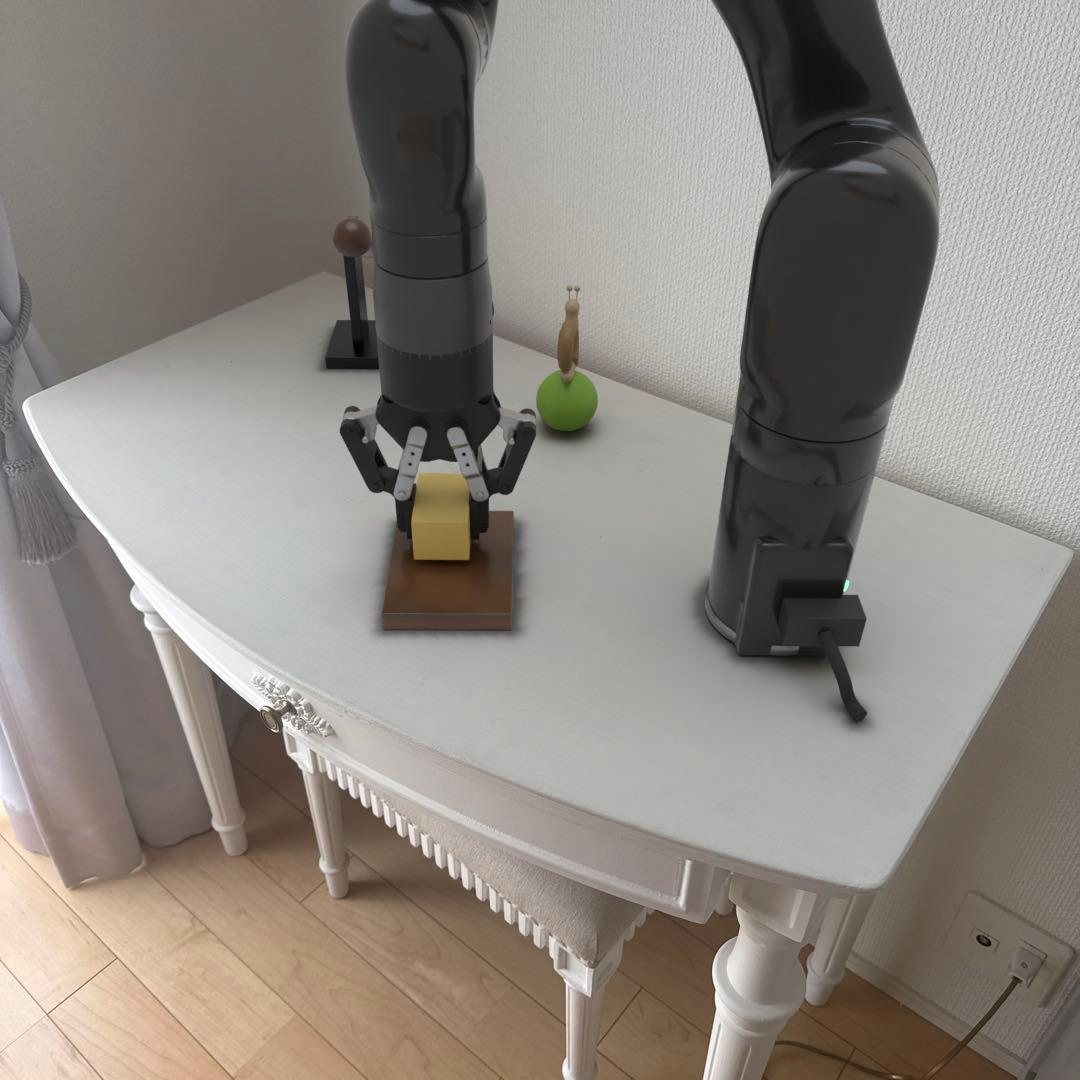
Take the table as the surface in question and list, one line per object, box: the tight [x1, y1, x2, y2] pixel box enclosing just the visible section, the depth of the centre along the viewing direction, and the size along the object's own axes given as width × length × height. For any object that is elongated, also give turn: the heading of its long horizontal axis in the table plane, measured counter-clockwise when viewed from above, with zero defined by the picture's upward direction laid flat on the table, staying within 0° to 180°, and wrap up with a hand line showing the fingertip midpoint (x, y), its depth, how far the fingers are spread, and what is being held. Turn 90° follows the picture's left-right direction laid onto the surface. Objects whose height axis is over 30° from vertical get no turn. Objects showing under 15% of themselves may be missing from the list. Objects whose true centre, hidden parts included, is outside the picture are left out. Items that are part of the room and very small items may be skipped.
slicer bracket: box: [324, 216, 379, 369], centre depth 101 cm, size 8×10×13 cm
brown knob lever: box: [332, 216, 374, 259], centre depth 92 cm, size 15×3×3 cm, turn 1°
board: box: [380, 510, 515, 631], centre depth 77 cm, size 12×9×2 cm
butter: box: [411, 472, 471, 560], centre depth 77 cm, size 6×4×4 cm, turn 0°
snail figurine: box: [535, 284, 599, 432], centre depth 91 cm, size 5×6×12 cm
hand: (444, 531), depth 78 cm, fingers closed on butter, 4 cm apart
